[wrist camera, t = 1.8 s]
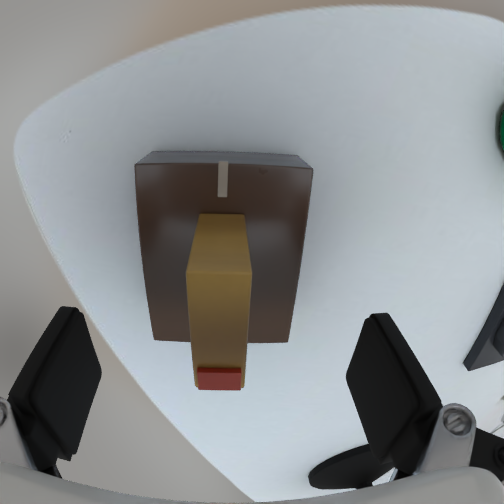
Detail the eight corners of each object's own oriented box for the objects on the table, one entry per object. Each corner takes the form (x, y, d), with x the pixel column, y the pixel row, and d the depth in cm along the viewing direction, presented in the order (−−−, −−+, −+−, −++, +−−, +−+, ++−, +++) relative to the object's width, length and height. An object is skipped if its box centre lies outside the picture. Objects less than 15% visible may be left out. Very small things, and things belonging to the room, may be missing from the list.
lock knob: (199, 212, 12) (184, 275, 8) (244, 213, 12) (253, 277, 8) (201, 313, 15) (194, 392, 10) (239, 314, 15) (244, 393, 10)
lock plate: (151, 149, 14) (132, 162, 11) (298, 153, 14) (315, 166, 12) (162, 307, 18) (153, 344, 15) (280, 309, 19) (288, 346, 16)
